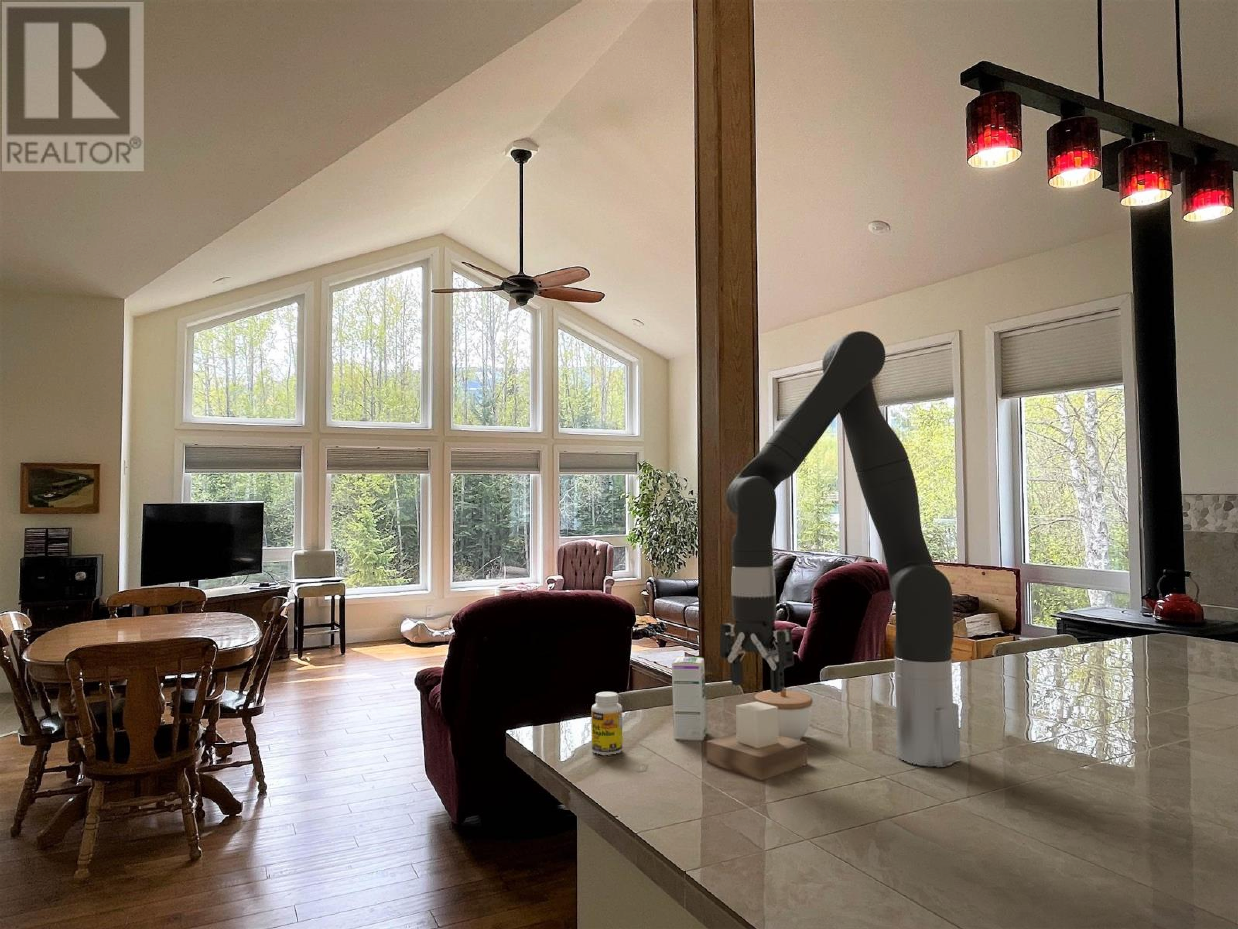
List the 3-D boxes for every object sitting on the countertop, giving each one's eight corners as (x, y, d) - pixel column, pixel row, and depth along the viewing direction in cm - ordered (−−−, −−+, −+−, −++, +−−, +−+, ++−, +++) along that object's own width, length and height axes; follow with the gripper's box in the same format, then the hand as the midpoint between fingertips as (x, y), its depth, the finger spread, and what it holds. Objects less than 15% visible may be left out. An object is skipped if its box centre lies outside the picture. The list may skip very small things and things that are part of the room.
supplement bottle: (587, 755, 139) (586, 696, 140) (597, 746, 144) (596, 689, 145) (617, 758, 137) (616, 698, 138) (626, 748, 143) (625, 691, 143)
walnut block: (807, 766, 133) (806, 742, 133) (761, 783, 125) (761, 757, 126) (752, 751, 142) (752, 728, 142) (706, 765, 134) (706, 741, 135)
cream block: (778, 743, 133) (777, 707, 134) (757, 748, 130) (757, 711, 131) (757, 736, 137) (756, 701, 138) (736, 741, 134) (735, 705, 135)
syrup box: (704, 741, 147) (702, 662, 148) (672, 739, 148) (671, 661, 149) (706, 732, 152) (705, 656, 153) (676, 731, 154) (675, 656, 154)
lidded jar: (814, 748, 142) (813, 695, 142) (754, 745, 144) (753, 693, 144) (812, 731, 152) (811, 682, 153) (756, 729, 154) (755, 680, 155)
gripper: (800, 593, 132) (804, 691, 131) (736, 588, 143) (739, 678, 142) (772, 597, 127) (776, 698, 126) (708, 592, 138) (710, 685, 137)
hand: (756, 688), depth 134 cm, fingers open, 8 cm apart
